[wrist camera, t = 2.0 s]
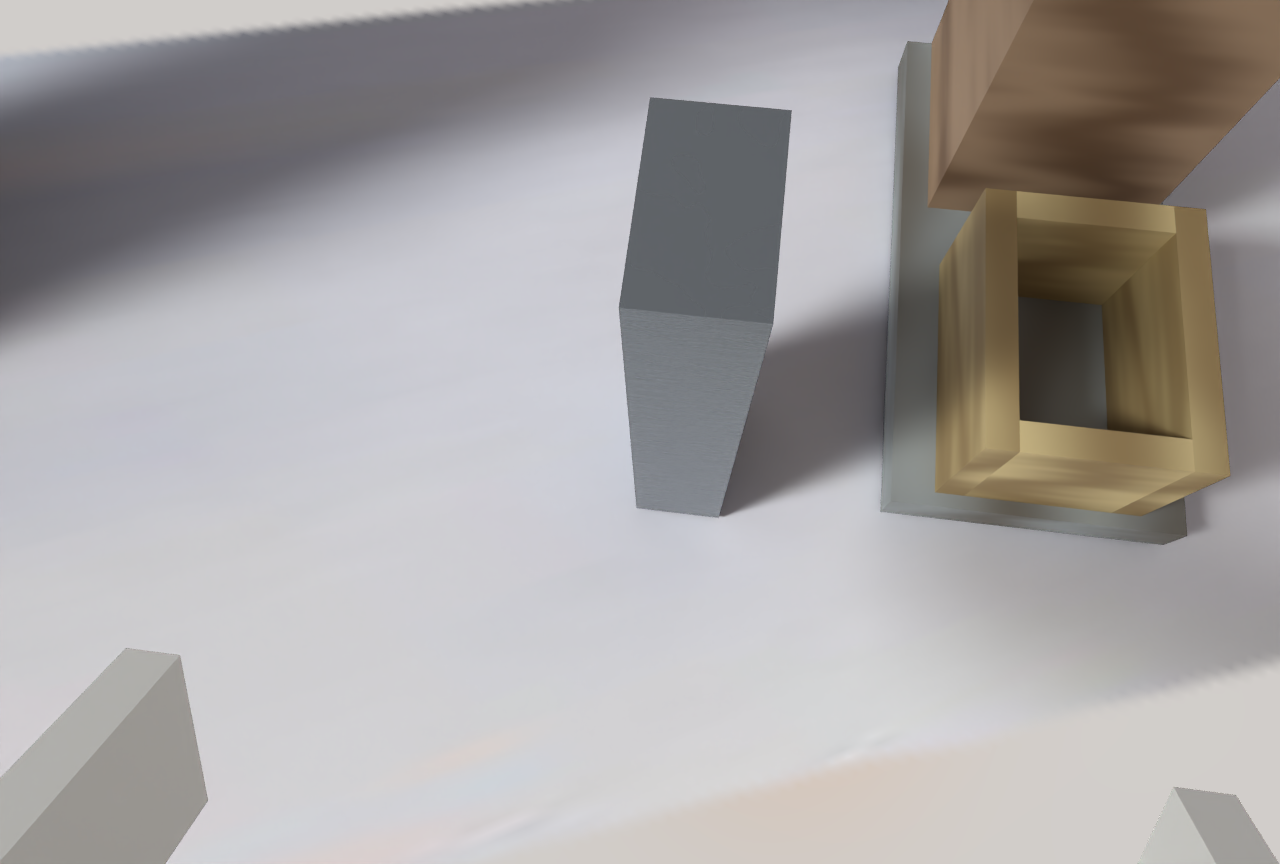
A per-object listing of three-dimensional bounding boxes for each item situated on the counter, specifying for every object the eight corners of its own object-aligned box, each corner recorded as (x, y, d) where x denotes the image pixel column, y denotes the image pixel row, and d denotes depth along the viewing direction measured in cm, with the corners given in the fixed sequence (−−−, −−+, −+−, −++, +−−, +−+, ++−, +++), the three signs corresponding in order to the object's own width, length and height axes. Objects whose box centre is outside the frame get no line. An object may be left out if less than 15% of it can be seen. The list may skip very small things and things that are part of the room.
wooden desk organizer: (880, 511, 32) (1382, 8, 10) (898, 67, 39) (1227, -845, 16) (1163, 544, 32) (2369, 88, 9) (1133, 87, 38) (1807, -829, 16)
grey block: (636, 507, 32) (618, 307, 17) (653, 381, 34) (650, 97, 19) (718, 517, 32) (772, 324, 17) (731, 390, 34) (791, 110, 19)
